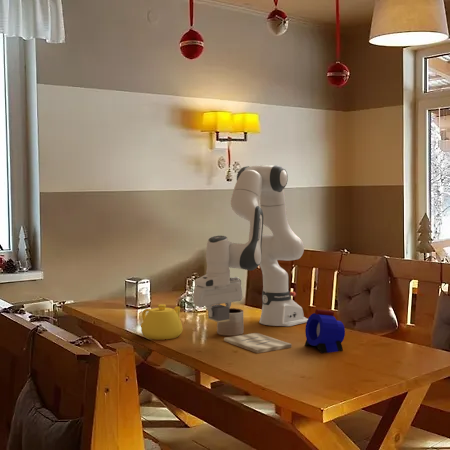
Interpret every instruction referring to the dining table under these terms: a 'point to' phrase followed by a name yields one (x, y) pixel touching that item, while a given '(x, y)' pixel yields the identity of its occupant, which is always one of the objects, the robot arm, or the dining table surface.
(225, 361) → the dining table surface
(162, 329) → the teapot
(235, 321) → the planter
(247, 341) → the board
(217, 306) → the block
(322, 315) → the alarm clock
